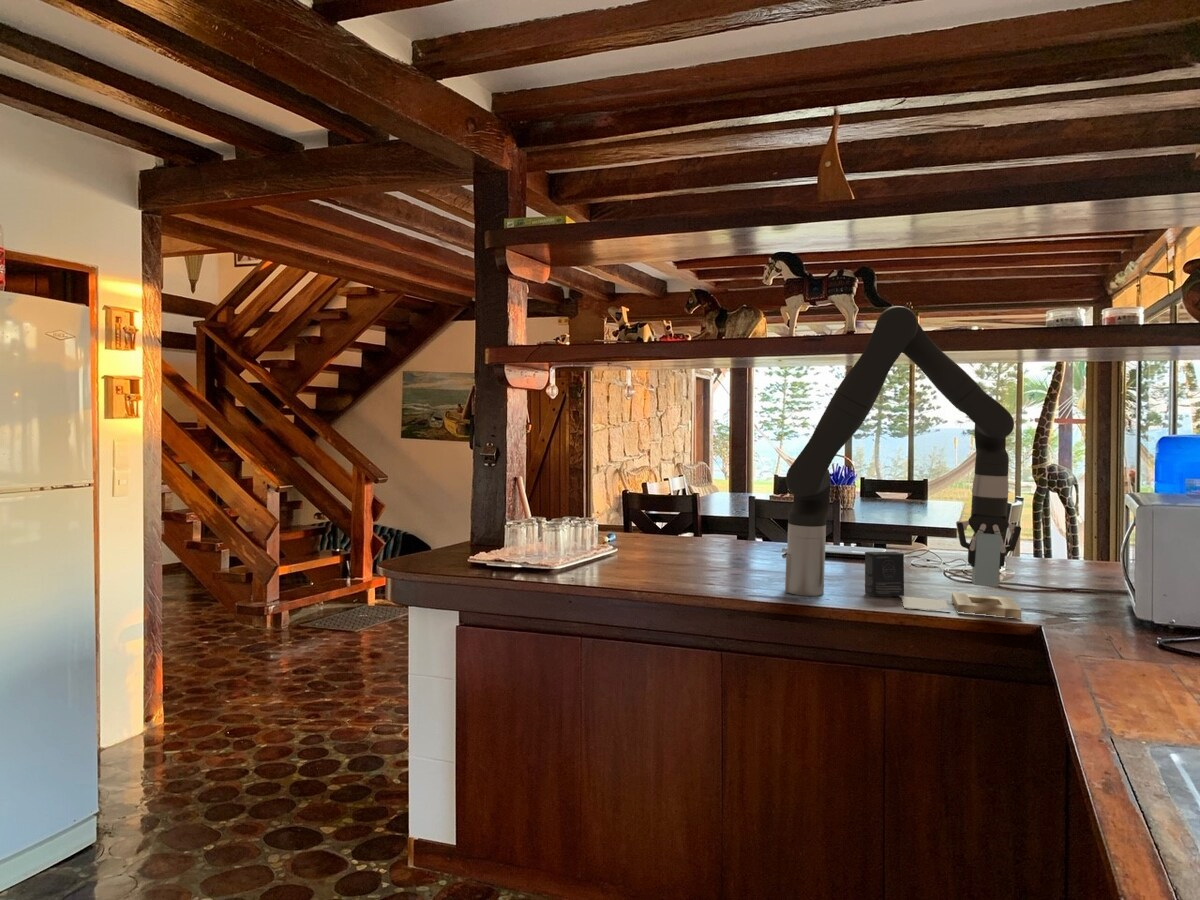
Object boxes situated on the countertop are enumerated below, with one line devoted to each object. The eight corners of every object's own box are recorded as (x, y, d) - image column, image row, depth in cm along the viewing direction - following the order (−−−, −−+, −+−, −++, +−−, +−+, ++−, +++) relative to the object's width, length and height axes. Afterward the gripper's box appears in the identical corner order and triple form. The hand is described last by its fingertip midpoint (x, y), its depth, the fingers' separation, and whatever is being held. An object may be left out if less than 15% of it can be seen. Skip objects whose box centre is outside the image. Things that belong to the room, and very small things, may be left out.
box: (894, 593, 208) (894, 551, 209) (904, 596, 203) (904, 553, 203) (864, 593, 208) (864, 551, 208) (873, 596, 202) (873, 553, 202)
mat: (903, 608, 192) (903, 607, 192) (901, 598, 203) (901, 596, 203) (950, 612, 189) (950, 611, 189) (945, 601, 200) (945, 600, 200)
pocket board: (957, 614, 188) (958, 604, 188) (951, 601, 200) (952, 592, 200) (1020, 619, 184) (1021, 609, 184) (1010, 606, 196) (1011, 597, 196)
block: (974, 585, 190) (977, 533, 190) (971, 580, 195) (974, 530, 194) (998, 587, 189) (1001, 535, 188) (994, 582, 194) (997, 532, 193)
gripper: (958, 494, 189) (954, 567, 190) (1027, 498, 185) (1022, 573, 186) (954, 491, 196) (950, 561, 197) (1021, 495, 192) (1016, 567, 193)
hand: (985, 567), depth 192 cm, fingers closed on block, 5 cm apart
